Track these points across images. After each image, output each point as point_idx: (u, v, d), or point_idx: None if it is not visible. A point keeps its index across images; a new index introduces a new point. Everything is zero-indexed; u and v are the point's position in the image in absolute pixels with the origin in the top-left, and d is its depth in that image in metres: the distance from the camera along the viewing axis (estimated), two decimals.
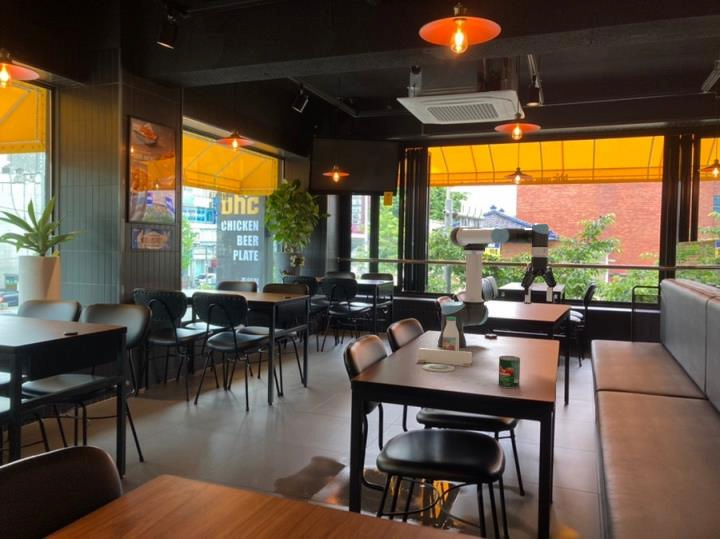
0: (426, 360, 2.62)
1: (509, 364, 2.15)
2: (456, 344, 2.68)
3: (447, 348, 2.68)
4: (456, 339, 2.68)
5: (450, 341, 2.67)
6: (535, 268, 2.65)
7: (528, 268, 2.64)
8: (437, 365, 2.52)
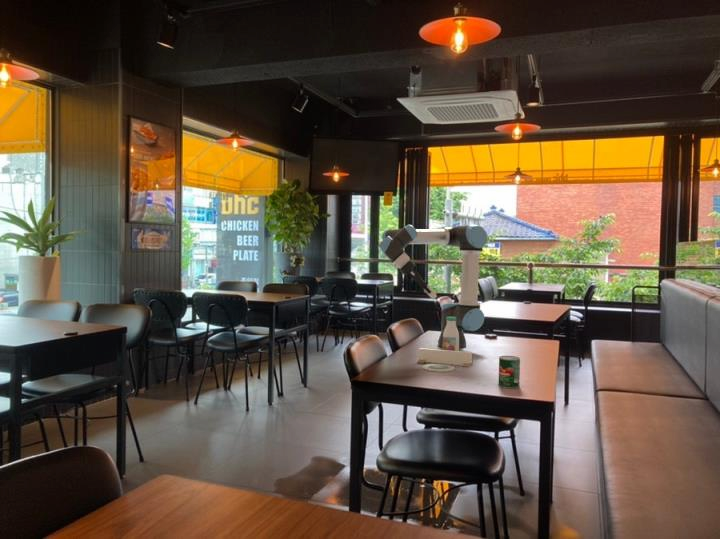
0: (426, 360, 2.62)
1: (509, 364, 2.15)
2: (456, 344, 2.68)
3: (447, 348, 2.68)
4: (456, 339, 2.68)
5: (450, 341, 2.67)
6: None
7: None
8: (437, 365, 2.52)
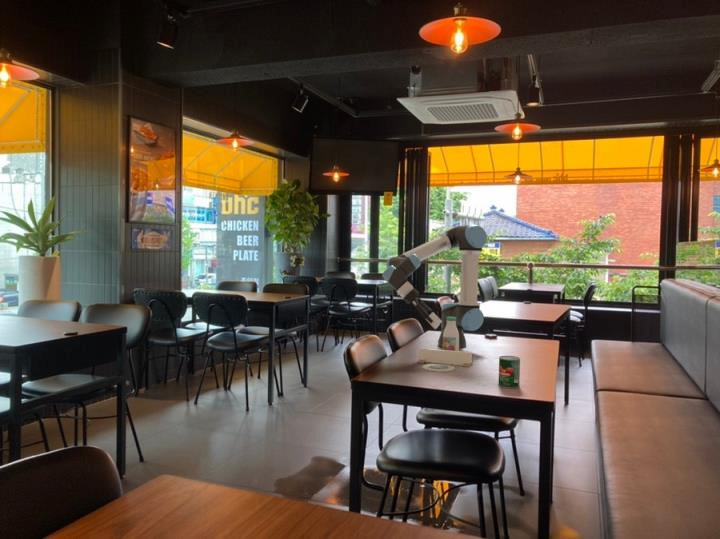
0: (426, 360, 2.62)
1: (509, 364, 2.15)
2: (456, 344, 2.68)
3: (447, 348, 2.68)
4: (456, 339, 2.68)
5: (450, 341, 2.67)
6: None
7: None
8: (437, 365, 2.52)
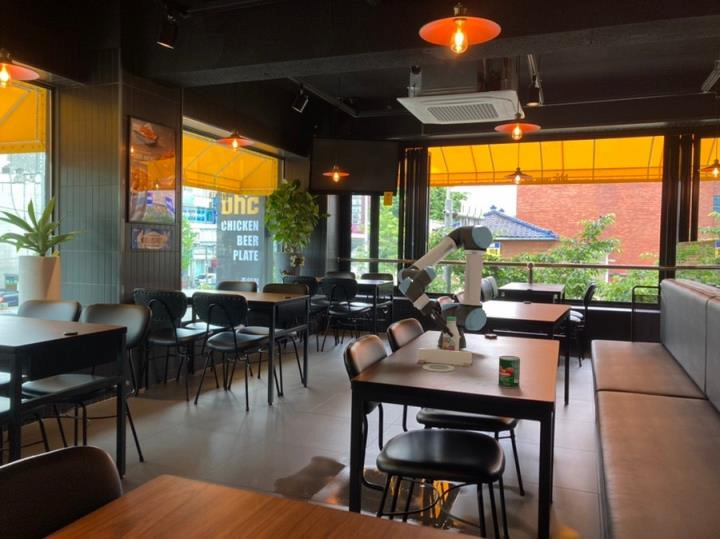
0: (426, 360, 2.62)
1: (509, 364, 2.15)
2: (456, 344, 2.68)
3: (447, 348, 2.68)
4: None
5: (450, 341, 2.67)
6: None
7: None
8: (437, 365, 2.52)
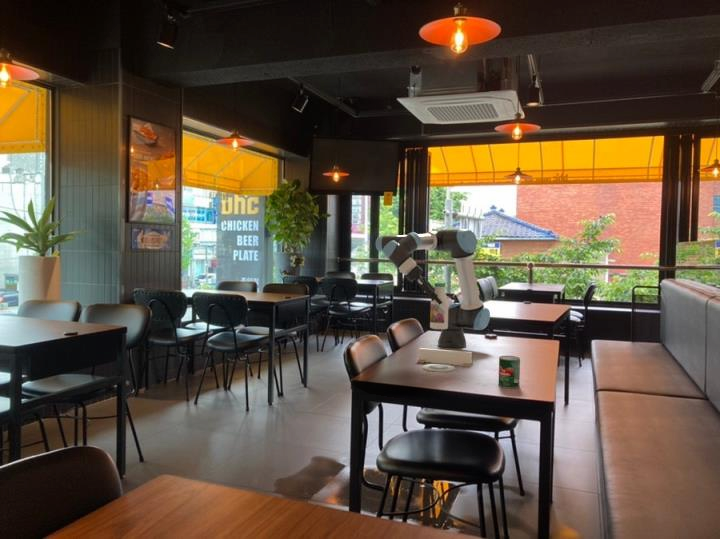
0: (426, 360, 2.62)
1: (509, 364, 2.15)
2: (445, 312, 2.45)
3: (435, 316, 2.45)
4: None
5: (438, 308, 2.45)
6: None
7: None
8: (437, 365, 2.52)
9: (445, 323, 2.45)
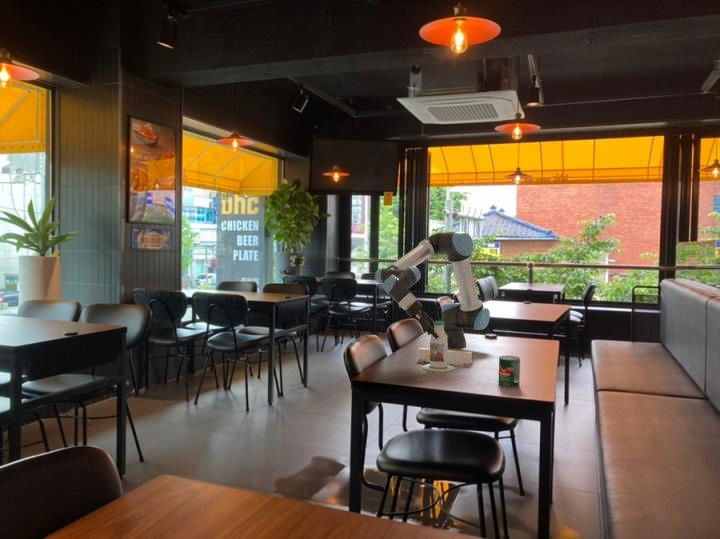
0: (426, 360, 2.62)
1: (509, 364, 2.15)
2: (444, 351, 2.46)
3: (434, 355, 2.46)
4: (444, 345, 2.46)
5: (438, 347, 2.45)
6: None
7: None
8: None
9: (445, 362, 2.46)
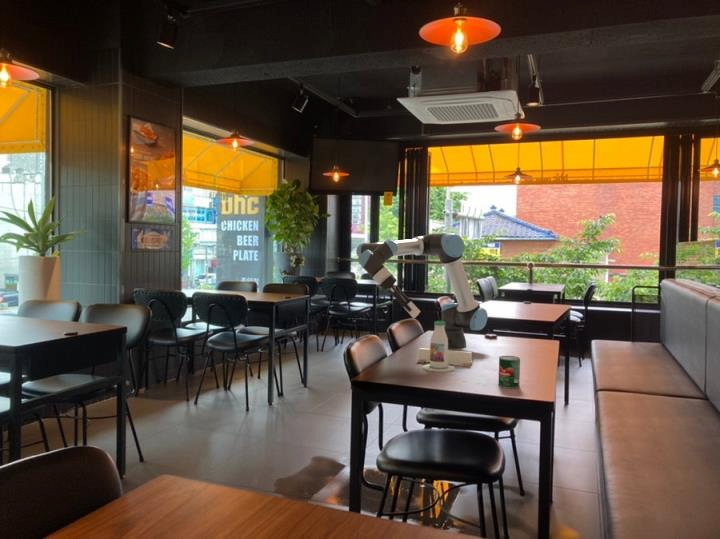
0: (426, 360, 2.62)
1: (509, 364, 2.15)
2: (445, 351, 2.46)
3: (435, 355, 2.46)
4: (445, 345, 2.46)
5: (438, 348, 2.45)
6: None
7: None
8: None
9: (445, 362, 2.46)
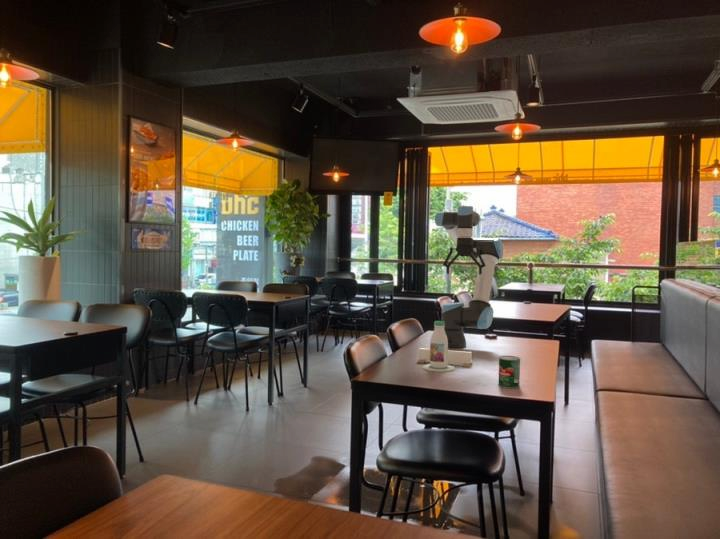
0: (426, 360, 2.62)
1: (509, 364, 2.15)
2: (444, 351, 2.46)
3: (435, 355, 2.46)
4: (444, 345, 2.46)
5: (438, 348, 2.45)
6: (457, 248, 2.77)
7: (450, 248, 2.79)
8: None
9: (445, 362, 2.46)
